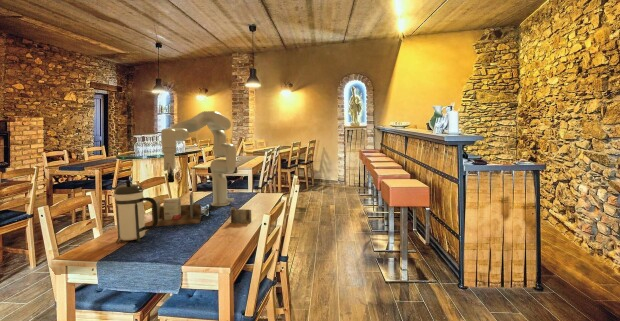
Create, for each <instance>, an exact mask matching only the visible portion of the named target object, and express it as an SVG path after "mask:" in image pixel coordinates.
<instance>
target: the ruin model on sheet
mask: <svg viewBox="0 0 620 321" xmlns="http://www.w3.org/2000/svg"><path fill="white" fill-rule="evenodd" d="M233 222H234V223H236V224H251V223H252V209H245V208H244V209H240V208H236V207H235V206H234V207H233V206H232V207H231V206H230V223H231V224H232V223H233Z"/></svg>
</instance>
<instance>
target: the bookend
mask: <svg viewBox="0 0 620 321" xmlns="http://www.w3.org/2000/svg"><path fill="white" fill-rule="evenodd" d="M189 204H190V214H191V219H197V218H200V217H201V218H202V212H201V213H199V214H194V204H195V203H194V192H193V191H190V194H189Z"/></svg>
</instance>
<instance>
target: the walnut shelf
mask: <svg viewBox="0 0 620 321" xmlns="http://www.w3.org/2000/svg"><path fill="white" fill-rule="evenodd" d="M154 200H155V201H156V204H157V211H158V223H157V225H156V227H161V226H162V227H163V226H175V225H177V226H178V225H188V224H189V225H191V224H200V223H201V219H202V216H201V217H200V218H197V219H191V214H190V203H189V204H181V218H180V219H173V220H164V207H163V205H162V206H161V199H160V198H156V199H154ZM199 213H201V214H202V204H201V203H194V214H199ZM151 218H152V221H151V222H152V224H153V223H154V214H153V205H152V204H151Z"/></svg>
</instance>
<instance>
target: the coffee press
mask: <svg viewBox="0 0 620 321" xmlns="http://www.w3.org/2000/svg"><path fill="white" fill-rule="evenodd" d="M111 197H112V198H113V197H114V204H115V208H116V209H115V212H116V214H115V215H116V226H117V240H115V243H116V244H117V243H120V244H121V243H122V242H123V241H134V240H136V243H137V242H138V243H137V244H140V243H142V240H141V238H143V237H145V236H146V237H147V236H148V233H147V231H146V230H148V231H149V230H153V229H154V228H156V227H157V226H156V225H157V223H158V211H157V204H156V201H155V200H156V199H154V198H153V197H150V196H149V197H148V196H146V197H144V189H143V187H142V186H141V184H135V183H132V181H131V180H130V179H126V180H125V184H123V185H119V186H117V187H116V188H115V190H114V191H113V194H112V195H111ZM144 202H150V203H151V206H152V205H153V214H154V223H153V222H152V225H146V224H145V221H146V220H145V209H144V208H145V207H144V206H145V205H144Z"/></svg>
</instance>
